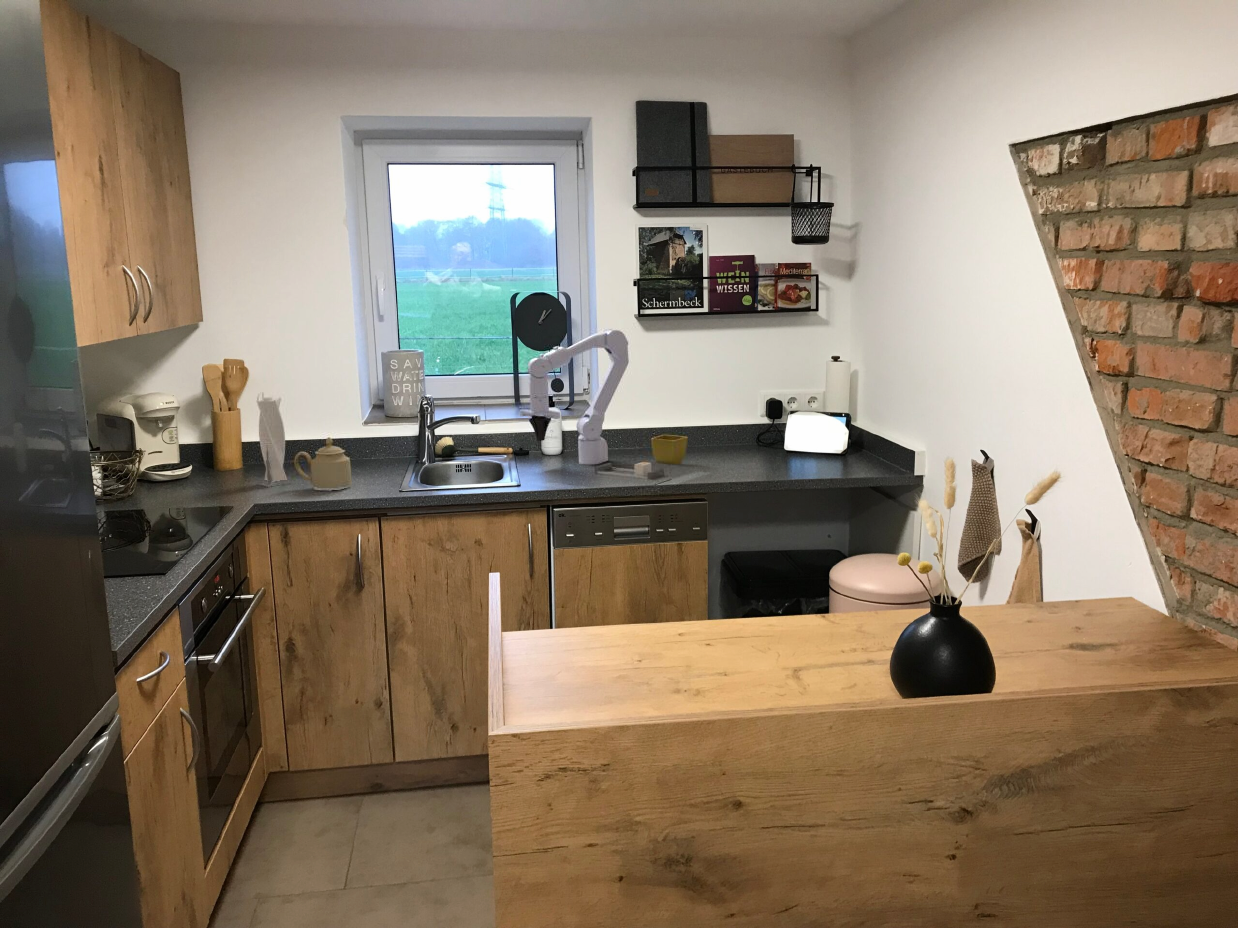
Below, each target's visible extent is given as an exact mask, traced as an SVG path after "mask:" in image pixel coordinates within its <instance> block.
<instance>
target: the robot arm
mask: <svg viewBox="0 0 1238 928" xmlns="http://www.w3.org/2000/svg"><path fill="white" fill-rule="evenodd" d="M628 346H629V341H628V339H627V337H626V335H625V333H623V331H621V330H618V329H612V328H611V329H610V328H608V329H605V330H603V331H599V332H596V333H594V334H592V335H590V336H588V337H586V338H584V339H582V340H580V341H577V342H576V343H574V344H572V345H571V346H569V347H567V348H566V347H564V346H559V347H558V346H553V347H552V348H553V350H550V351H549V352H547V353H540V354H539V357H535V358H532V359H530V360H529V362H528V364H527V367H526V370H527V372H528V374H529V379H528V380H529V382H528V383H529V384H528V385H529V404H530V405H529V407H530V409H520V410H519V413H520V414H519V415H520V417H528V418H529V417H530V418H529V419H528V422H529V424H530V425H531V426H532V429H533V431H534V434H535V438H536V440H537V442H542V441H545V439H546V434H547V431H548V427H549V424H550V423H551V422H552V419H554V420H558V419H561V411H555V410H554V411H553V410H550V405H549V404H550V401H549V382H548V374H549V373H550V372H553V371H556V370H557V369H560V368H563V367H564V366H566V365H568V364H570V362H571V359H572V358H573V357H575V356H578V355H580V354H582V353H585V352H586V351H587V352H588V351H589V350H592V349H594V348H597V349H599V348H600V349H604V350H605V351H606V352H607V355H608V357H609V360H610V364H609V366H608V368H607V370H606V372H605V374H604V377H603V379H602V380H601V382H600V385H599V387H598V389H597V391H596V393H595V395H594V398H593V400H592V401H591V404H590V406H589V408H587V409H586V410H585V412H584V414H583V416H581V417H580V418H579V419H578V420H577V423H576V430H577V431H578V433H579V436H578V438H577V440H578V441H577V442H578V443H577V444H578V445H577V446H578V463H579V464H580V465H598V464H602V463H604V462H607V461H609V459H608V458H609V456H608V455H609V453H608V449H609V448H608V443H607V441H606V439H605V438H603V437H602V436H601V434H602V432H603V424H604V422H605V413H606V411H607V410H608V407H609V405H610V403H611V401H612V399H613V397H614V395H615V392H616V391H617V389H618V386H619V384H620V383H621V380H622V378H623V376H624V374H625V371H626V370H627V367H628V365H629V347H628Z"/></svg>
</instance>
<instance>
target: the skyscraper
mask: <svg viewBox="0 0 1238 928" xmlns="http://www.w3.org/2000/svg"><path fill="white" fill-rule="evenodd" d="M264 394H265V393H264V392H263V391H260V392H259V393H258V395H257V398H256V404H257V406H258V409H259V419H258V439H259V445H260V450H261V455H262V458H263V459H262V460H263V462H264V466H265V475H264V480H267V481H268V484H272V483H273V482H275V481H280V480H288V478H287V474H286V472H285V469H284V463H285V452H286V432H285V427H284V422H283V418H282V415H281V412H280V405H281V401H282V400H281V399H282V398H281V397H280V396H277V397H275V398H274V396H265V395H264ZM260 395H261V400H259V399H260Z"/></svg>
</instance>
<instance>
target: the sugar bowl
mask: <svg viewBox="0 0 1238 928" xmlns="http://www.w3.org/2000/svg"><path fill="white" fill-rule="evenodd" d="M325 444H326V446H323V447H320V448H319V449H318V450H317V451H315V454H316V456H315V457H314V458H313V459H312V458H311V455H310V454H309V453H308V452H306V451H300V452H298V453H297V454H296V455H295V456H294V467H295V469H296V470H297V472H298V474H299V475H300V476H301V477H302V478H304V479H305V480H307V481H309V482H310V483H311V484H312V488H313V487H317V488H338V487H346V486H349V485H351V486H352V470H351V458H350V457H348V456H346V455H345V451H346V450H345V449H342V448H341V447H340V446H335V445H333V439H332V438H331V437H329V436H327V438H326V441H325ZM300 456H304V457H306V460H307V462H308V466H309V468H310V472H311V477H310V476H309V475H308V474H306V472H304V471H303V469H301V467H300V465H299V458H300Z"/></svg>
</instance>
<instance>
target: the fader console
mask: <svg viewBox="0 0 1238 928" xmlns="http://www.w3.org/2000/svg"><path fill="white" fill-rule="evenodd" d="M611 470H612V471H621V472H627V473H618V472H610V471H611ZM628 472H629V473H630V472H631V473H635V469H631V468H623V467H614V466H613V463H611V462H608V463H605V464H604V463H603V464H601V465H598V466H594V474H599V475H609V476H615V477H617V476H618V477H623V478H624V477H626V478H634V479H635V478H636V479H644V480H653V479H657V478H660V477H663V476H665V468H658V469H656V470H651V472H649V473H647V476H639V475H635V474H629V473H628ZM670 481H672V478H671V479H668V480H665V481H662V482H659V483H655V484H654V486H657V485H659V484H664V483H666V482H670Z"/></svg>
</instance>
